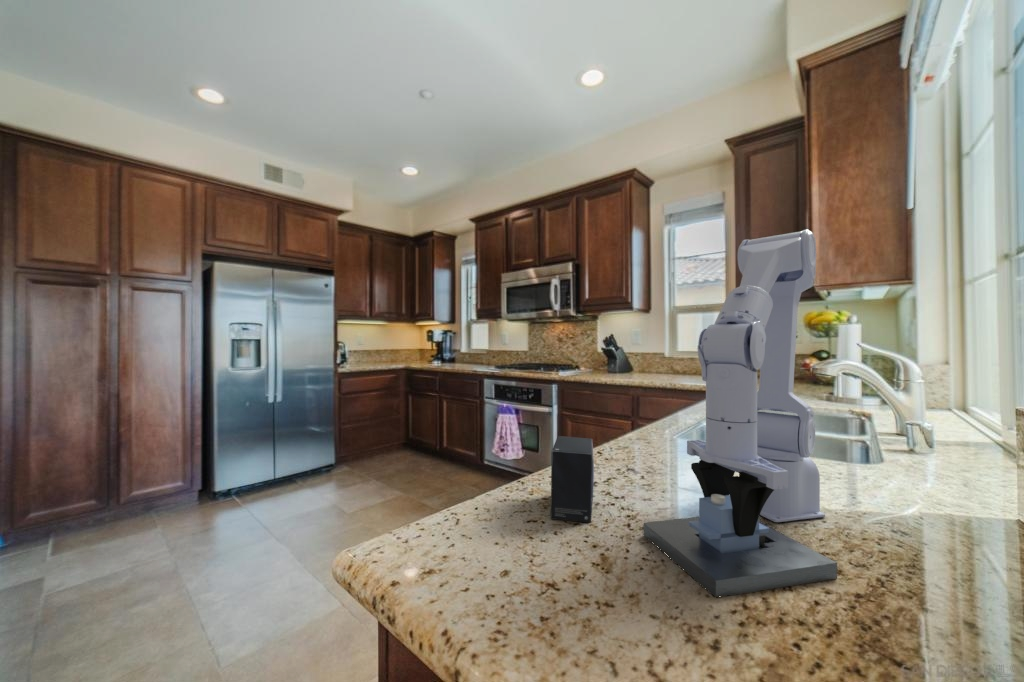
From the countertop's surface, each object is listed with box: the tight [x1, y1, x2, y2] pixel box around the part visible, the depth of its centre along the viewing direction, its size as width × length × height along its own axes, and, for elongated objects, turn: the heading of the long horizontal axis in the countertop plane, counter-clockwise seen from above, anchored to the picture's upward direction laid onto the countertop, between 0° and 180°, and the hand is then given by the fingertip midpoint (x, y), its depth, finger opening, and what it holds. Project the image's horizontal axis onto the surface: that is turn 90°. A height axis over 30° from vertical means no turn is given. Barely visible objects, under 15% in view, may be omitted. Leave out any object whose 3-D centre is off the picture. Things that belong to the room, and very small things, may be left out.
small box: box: [549, 435, 595, 523], centre depth 65 cm, size 11×6×10 cm, turn 168°
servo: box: [689, 494, 769, 554], centre depth 51 cm, size 9×4×6 cm, turn 103°
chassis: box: [642, 516, 838, 598], centre depth 51 cm, size 16×14×2 cm
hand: (730, 526), depth 51 cm, fingers closed on servo, 4 cm apart
